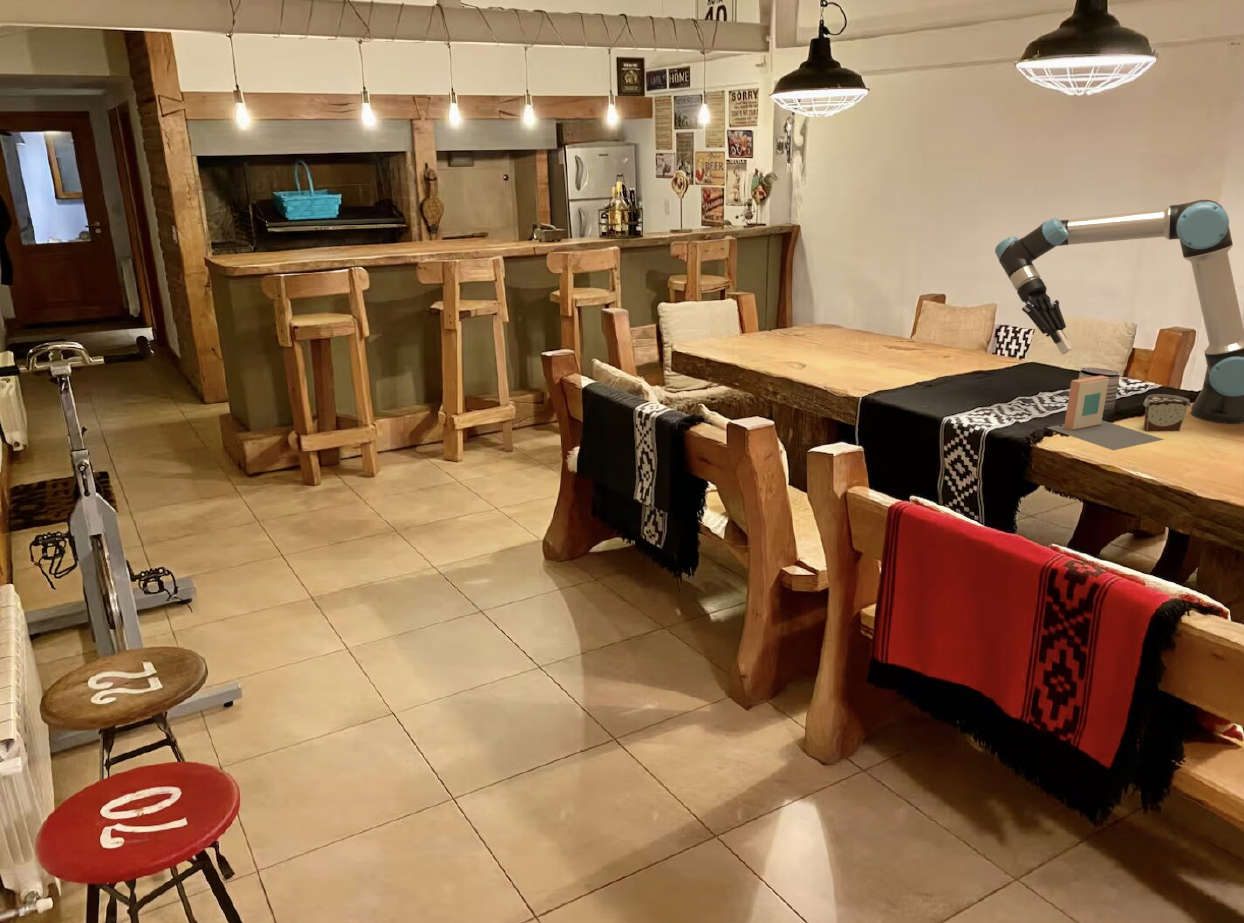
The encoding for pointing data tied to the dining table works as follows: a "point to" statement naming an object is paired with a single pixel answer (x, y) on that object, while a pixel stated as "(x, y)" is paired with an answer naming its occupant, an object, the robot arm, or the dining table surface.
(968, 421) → the dining table surface
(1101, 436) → the mat
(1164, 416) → the food container
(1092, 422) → the tile
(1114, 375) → the can
